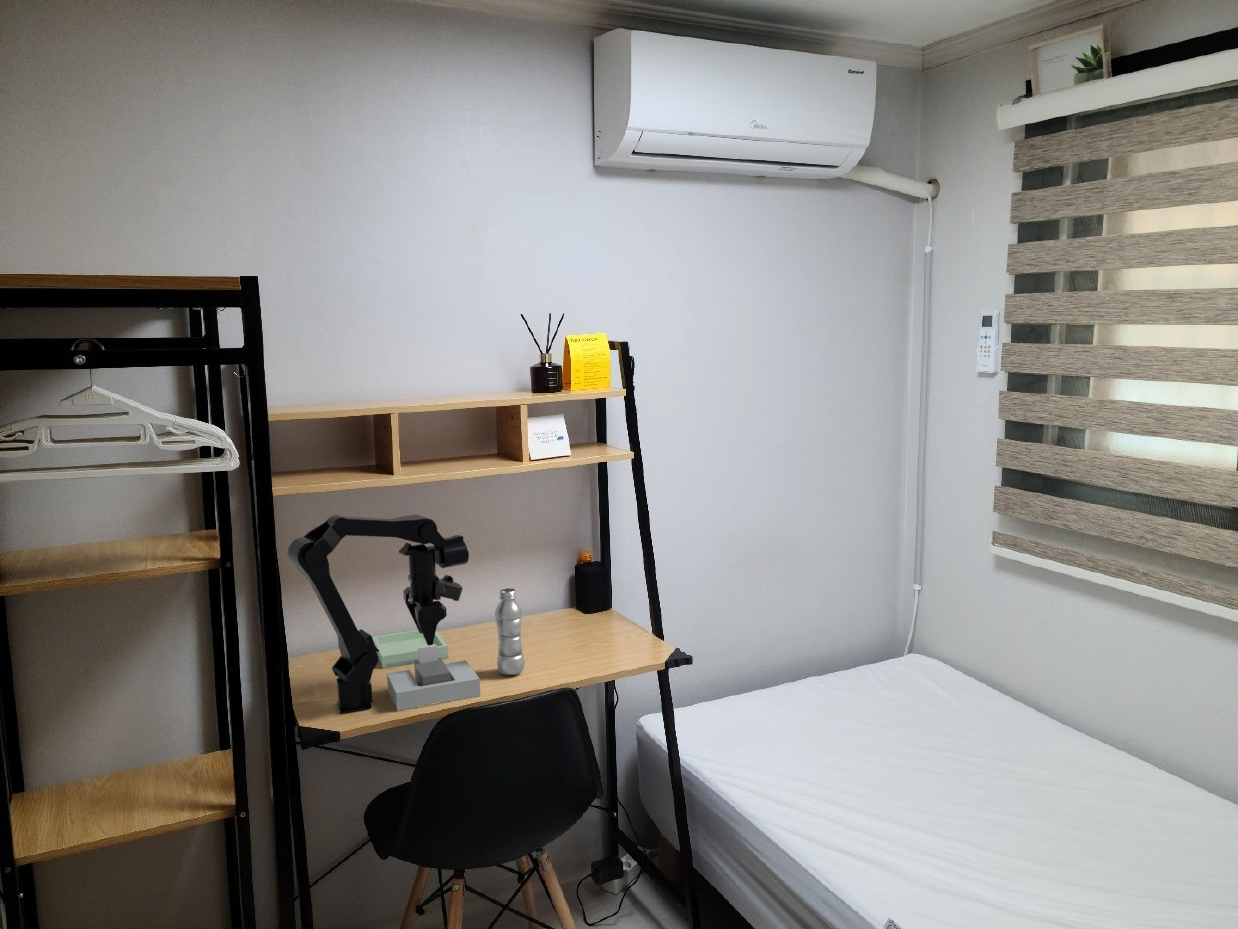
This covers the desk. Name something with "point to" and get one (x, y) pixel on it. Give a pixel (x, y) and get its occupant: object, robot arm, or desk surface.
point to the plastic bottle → (509, 633)
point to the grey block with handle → (430, 667)
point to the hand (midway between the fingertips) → (426, 639)
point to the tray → (405, 648)
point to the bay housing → (433, 687)
